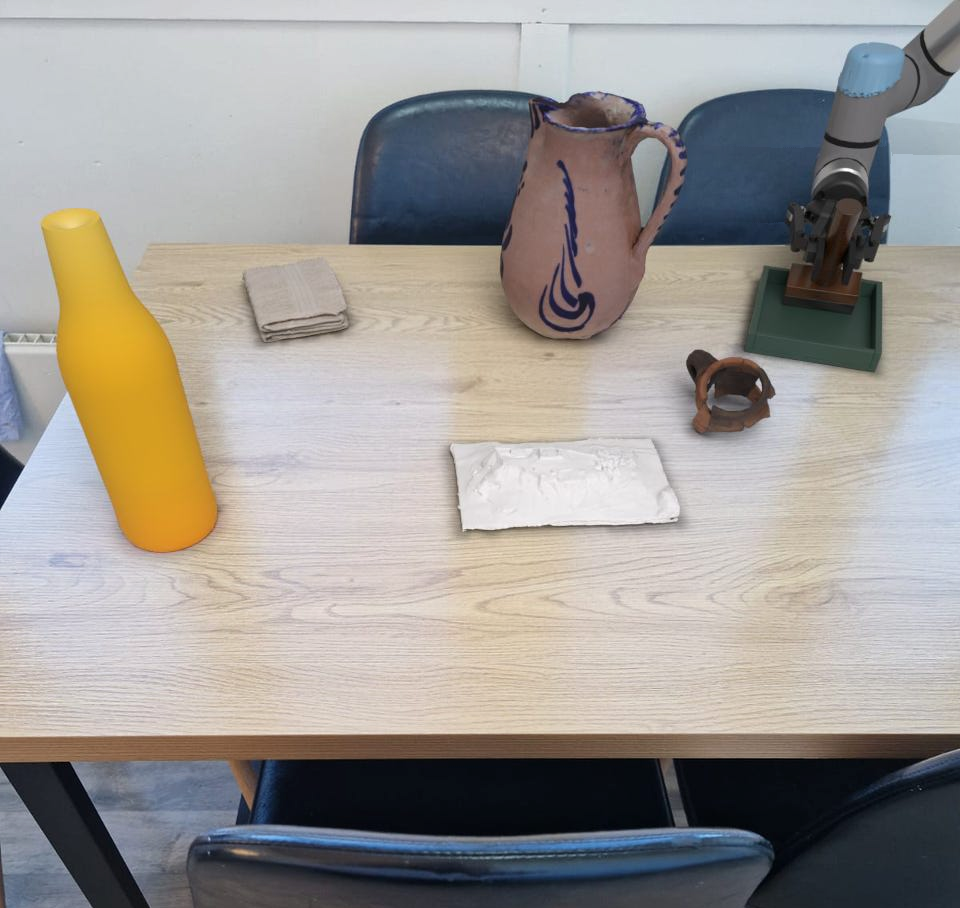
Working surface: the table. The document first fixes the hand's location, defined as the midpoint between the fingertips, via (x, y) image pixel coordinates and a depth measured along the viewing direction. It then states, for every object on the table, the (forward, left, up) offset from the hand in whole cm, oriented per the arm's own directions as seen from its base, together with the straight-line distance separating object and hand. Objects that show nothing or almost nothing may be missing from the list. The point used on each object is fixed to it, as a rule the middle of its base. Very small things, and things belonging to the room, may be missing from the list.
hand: (832, 272), depth 105 cm
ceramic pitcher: (+29, +7, -8) cm, 31 cm away
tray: (0, -3, -8) cm, 9 cm away
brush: (0, -8, -7) cm, 11 cm away
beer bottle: (+58, +58, -8) cm, 83 cm away
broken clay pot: (+9, +22, -8) cm, 26 cm away
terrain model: (+23, +40, -8) cm, 47 cm away
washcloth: (+66, +14, -8) cm, 68 cm away
